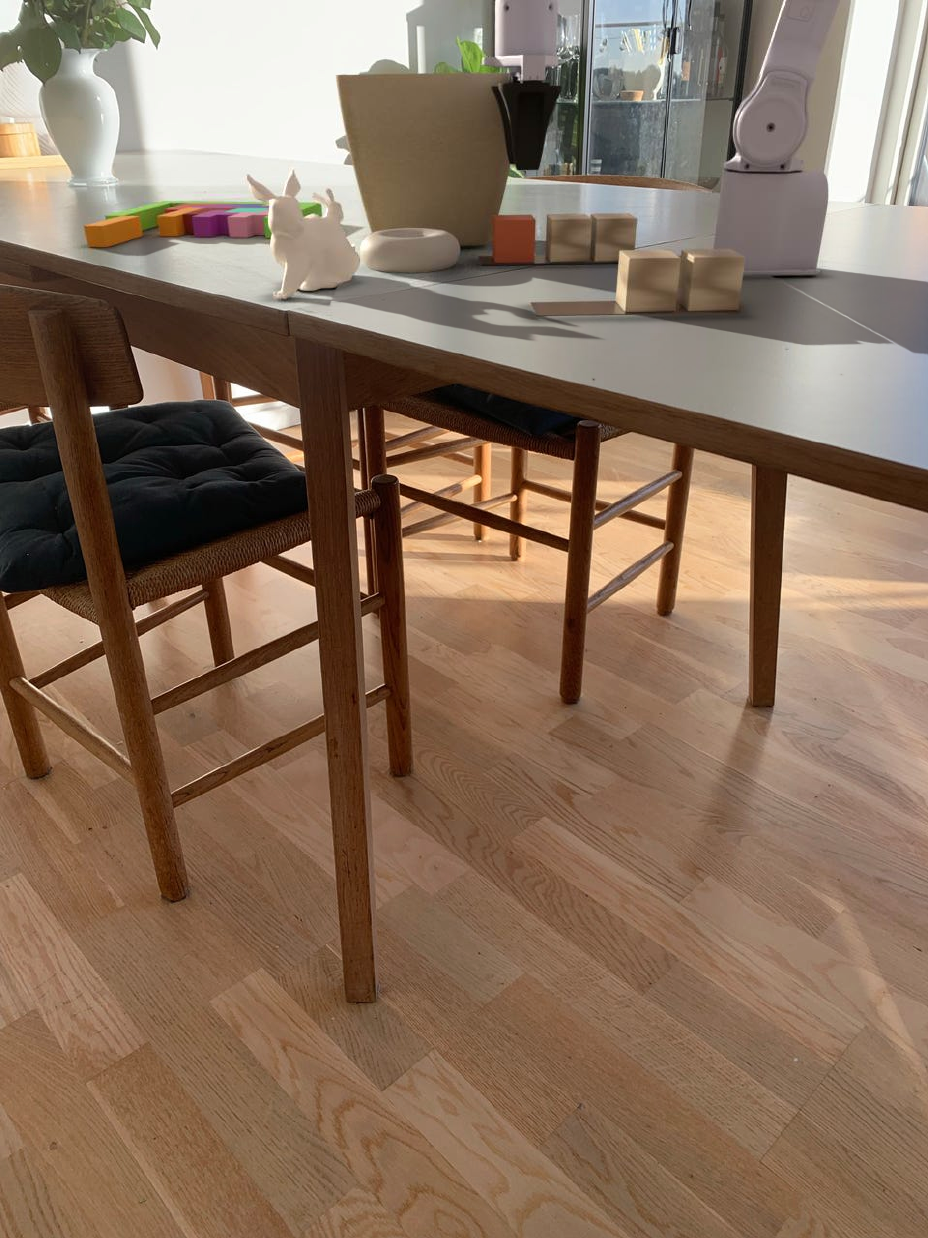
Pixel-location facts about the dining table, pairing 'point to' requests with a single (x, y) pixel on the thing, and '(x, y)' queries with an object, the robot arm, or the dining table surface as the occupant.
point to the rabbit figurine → (307, 240)
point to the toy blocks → (187, 220)
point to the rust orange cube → (513, 238)
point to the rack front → (665, 285)
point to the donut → (410, 250)
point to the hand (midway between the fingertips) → (523, 166)
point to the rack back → (582, 240)
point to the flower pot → (427, 150)
